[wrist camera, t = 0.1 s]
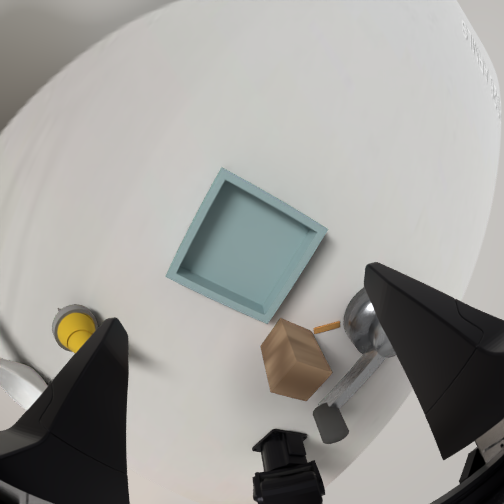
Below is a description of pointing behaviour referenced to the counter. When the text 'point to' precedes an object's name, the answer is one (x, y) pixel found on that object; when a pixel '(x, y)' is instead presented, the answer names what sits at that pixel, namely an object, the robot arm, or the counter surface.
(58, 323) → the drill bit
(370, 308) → the crank base
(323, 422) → the crank
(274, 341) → the block
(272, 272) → the tray
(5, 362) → the spoon rest
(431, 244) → the counter surface
